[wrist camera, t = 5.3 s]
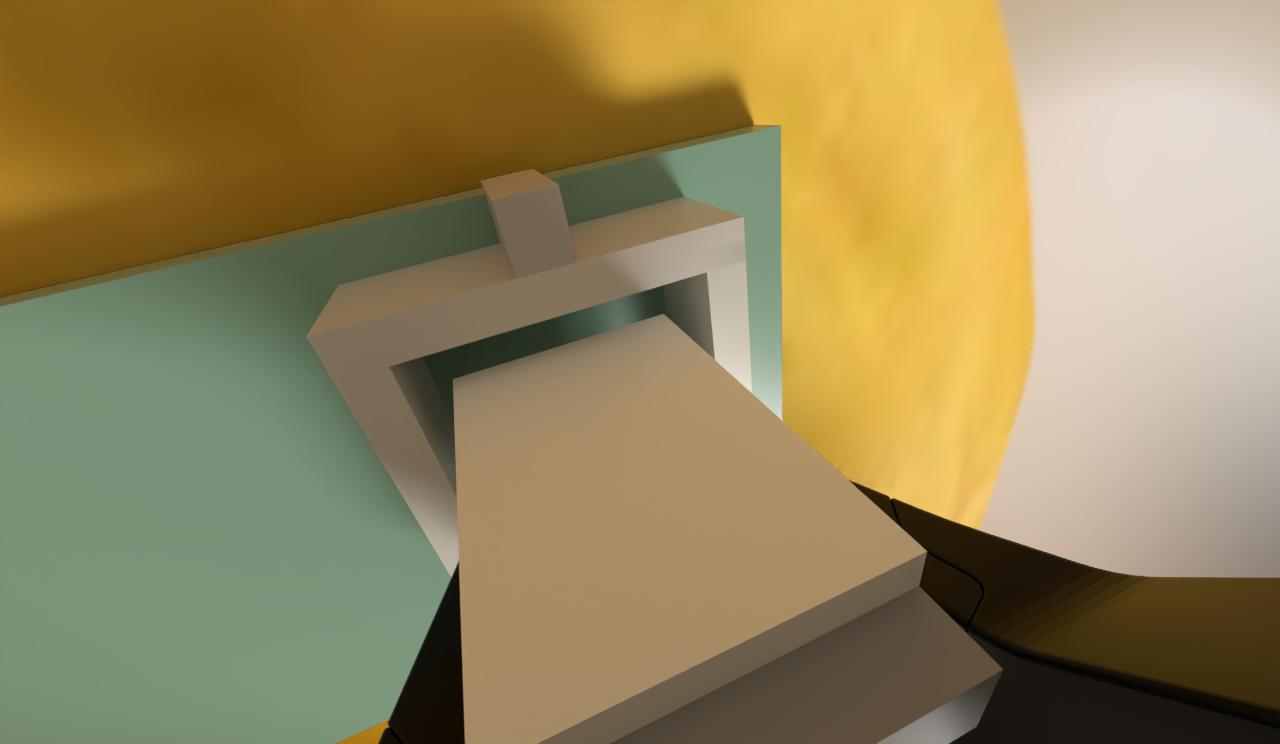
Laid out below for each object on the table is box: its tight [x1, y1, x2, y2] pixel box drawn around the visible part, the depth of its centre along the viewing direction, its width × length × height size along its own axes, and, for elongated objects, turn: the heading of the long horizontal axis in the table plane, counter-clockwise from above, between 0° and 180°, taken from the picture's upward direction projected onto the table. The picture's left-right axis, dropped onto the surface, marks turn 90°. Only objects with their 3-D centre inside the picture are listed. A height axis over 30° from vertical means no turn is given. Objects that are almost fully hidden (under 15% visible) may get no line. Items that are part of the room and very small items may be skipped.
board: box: [0, 125, 782, 744], centre depth 11 cm, size 14×22×4 cm, turn 99°
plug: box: [453, 314, 1003, 744], centre depth 7 cm, size 5×4×7 cm
